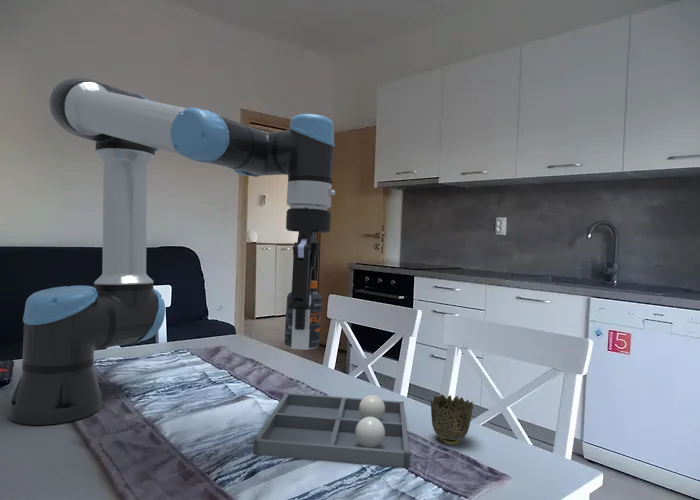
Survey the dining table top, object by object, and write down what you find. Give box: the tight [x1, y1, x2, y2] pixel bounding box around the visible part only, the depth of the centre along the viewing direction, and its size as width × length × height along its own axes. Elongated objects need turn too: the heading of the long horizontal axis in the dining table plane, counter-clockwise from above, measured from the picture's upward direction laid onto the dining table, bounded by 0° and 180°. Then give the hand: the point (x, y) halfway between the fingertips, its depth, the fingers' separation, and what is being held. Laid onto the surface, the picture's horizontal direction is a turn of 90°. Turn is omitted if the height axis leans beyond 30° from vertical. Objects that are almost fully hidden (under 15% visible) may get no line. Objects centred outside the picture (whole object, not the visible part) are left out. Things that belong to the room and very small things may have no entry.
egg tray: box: [252, 392, 411, 469], centre depth 88 cm, size 24×24×3 cm
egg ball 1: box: [359, 394, 385, 420], centre depth 93 cm, size 5×5×5 cm
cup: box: [430, 393, 474, 446], centre depth 86 cm, size 8×7×8 cm
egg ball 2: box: [355, 417, 385, 448], centre depth 81 cm, size 5×5×5 cm
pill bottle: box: [284, 280, 323, 350], centre depth 82 cm, size 6×6×11 cm
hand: (303, 344), depth 83 cm, fingers closed on pill bottle, 6 cm apart
